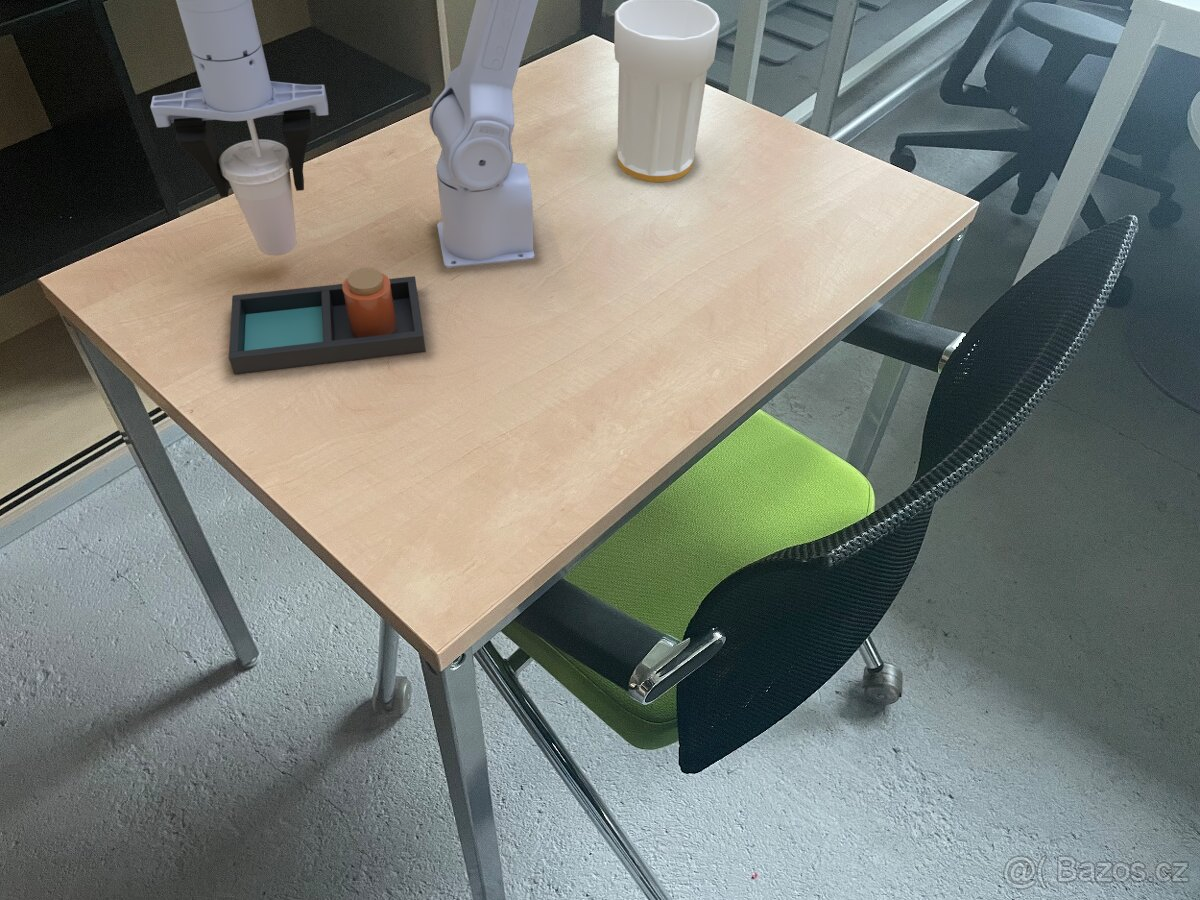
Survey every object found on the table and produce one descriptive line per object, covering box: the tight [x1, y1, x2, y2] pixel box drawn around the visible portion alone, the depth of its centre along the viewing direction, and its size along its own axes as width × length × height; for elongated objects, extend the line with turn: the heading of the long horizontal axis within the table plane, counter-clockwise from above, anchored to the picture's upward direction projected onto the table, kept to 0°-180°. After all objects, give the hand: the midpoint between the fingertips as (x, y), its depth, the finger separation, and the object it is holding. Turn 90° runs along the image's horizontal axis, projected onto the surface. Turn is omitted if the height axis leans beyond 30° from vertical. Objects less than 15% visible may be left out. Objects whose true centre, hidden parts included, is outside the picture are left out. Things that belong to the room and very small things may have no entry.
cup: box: [613, 0, 721, 183], centre depth 108 cm, size 11×11×17 cm
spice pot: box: [342, 267, 397, 338], centre depth 90 cm, size 4×4×6 cm
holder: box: [228, 275, 427, 375], centre depth 91 cm, size 9×17×2 cm, turn 103°
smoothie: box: [219, 119, 298, 257], centre depth 89 cm, size 6×6×14 cm
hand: (263, 188), depth 90 cm, fingers closed on smoothie, 6 cm apart
